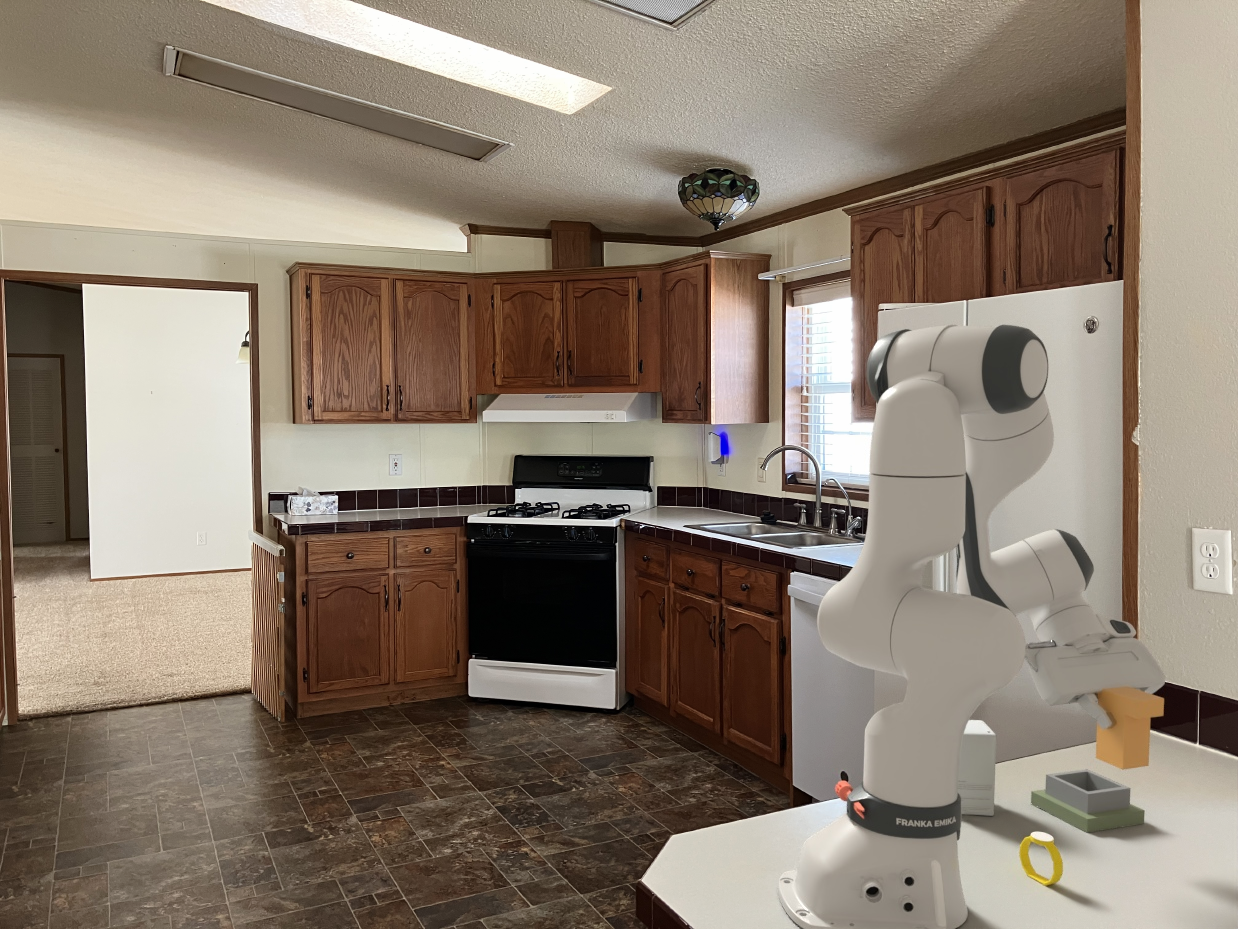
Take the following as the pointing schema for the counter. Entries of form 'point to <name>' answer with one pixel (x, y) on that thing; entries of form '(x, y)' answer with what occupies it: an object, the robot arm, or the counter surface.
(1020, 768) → the counter surface
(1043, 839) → the watch
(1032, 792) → the grey-rimmed base plate
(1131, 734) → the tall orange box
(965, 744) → the supplement box
